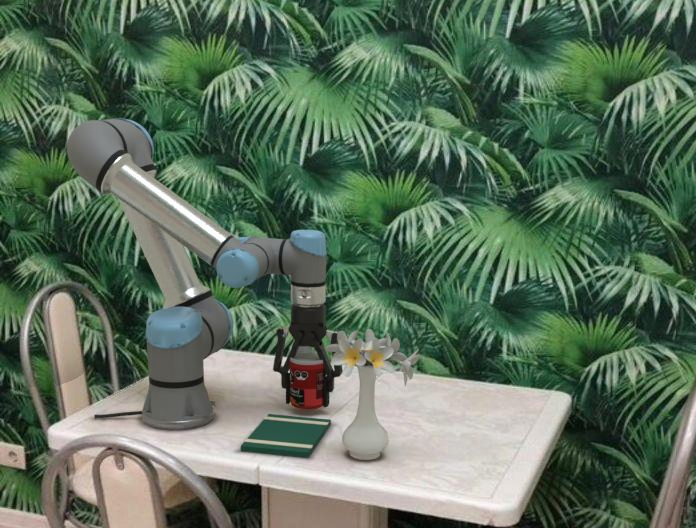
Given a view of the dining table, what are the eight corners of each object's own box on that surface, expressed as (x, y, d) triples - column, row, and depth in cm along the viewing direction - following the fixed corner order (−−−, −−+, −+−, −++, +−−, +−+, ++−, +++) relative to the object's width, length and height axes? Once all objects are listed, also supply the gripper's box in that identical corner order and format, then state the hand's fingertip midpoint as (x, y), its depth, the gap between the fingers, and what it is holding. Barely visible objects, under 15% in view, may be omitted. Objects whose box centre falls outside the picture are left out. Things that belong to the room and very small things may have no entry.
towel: (240, 451, 191) (240, 445, 191) (268, 418, 210) (268, 413, 209) (308, 458, 189) (308, 451, 188) (330, 424, 207) (330, 419, 207)
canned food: (285, 400, 216) (285, 353, 212) (319, 397, 219) (319, 351, 215) (295, 411, 210) (295, 363, 205) (329, 408, 212) (330, 360, 208)
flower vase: (411, 470, 185) (418, 344, 175) (317, 463, 187) (319, 338, 177) (416, 446, 197) (423, 327, 187) (328, 439, 199) (330, 322, 189)
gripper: (256, 304, 204) (258, 405, 212) (351, 311, 201) (349, 413, 209) (266, 296, 211) (267, 394, 219) (358, 303, 207) (356, 402, 216)
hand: (307, 403), depth 214 cm, fingers closed on canned food, 8 cm apart
